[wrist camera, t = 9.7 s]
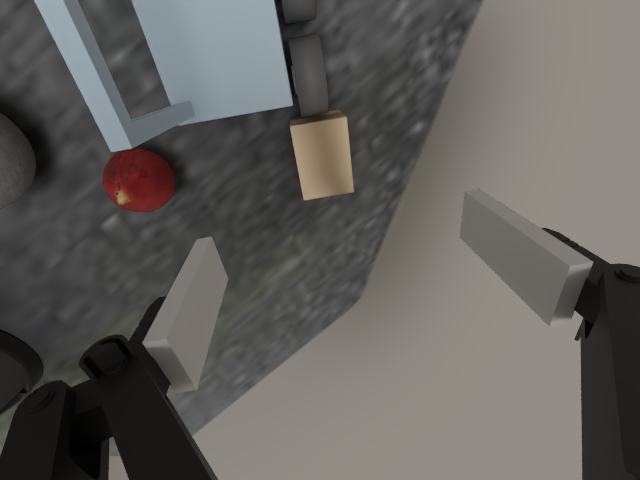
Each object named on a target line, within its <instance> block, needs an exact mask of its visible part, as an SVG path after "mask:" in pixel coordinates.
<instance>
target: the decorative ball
mask: <svg viewBox="0 0 640 480" xmlns="http://www.w3.org/2000/svg"><path fill="white" fill-rule="evenodd" d="M35 172H36V159H35V154H34V152H33V149H32V147H31V145H30V143H29V141H28V139H27V138H26V137H25V135H24V134H23V133H22V131H21V130H20V129H19V128H18V127H17V126H16V125H15V124H14V123H13V122H12V121H10V120H9V119H8V118H7V117H5V116H4V115H3V114H1V113H0V209H1V208H4V207H6V206H8V205H10V204H12V203H13V202H15V201H16V200H18V199H19V198H20V197H21V196H22V195H24V194H25V192H26V191H27V190H28V189H29V187H30V186H31V184H32V182H33V180H34V176H35Z"/></svg>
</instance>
